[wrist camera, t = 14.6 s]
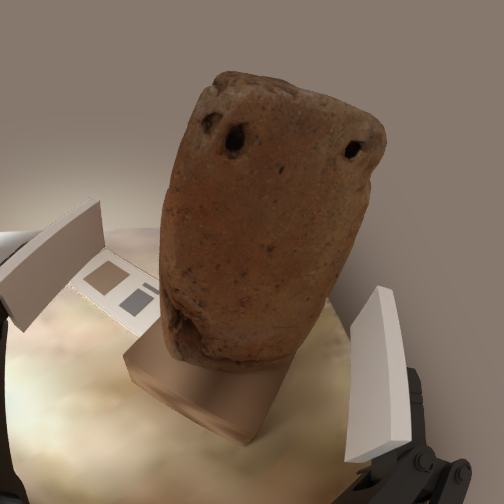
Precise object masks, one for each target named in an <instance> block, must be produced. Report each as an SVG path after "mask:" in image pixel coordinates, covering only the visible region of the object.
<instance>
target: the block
mask: <svg viewBox="0 0 504 504" xmlns="http://www.w3.org/2000/svg"><path fill="white" fill-rule="evenodd" d="M386 144H387V139H386V133H385V129H384V126H383V125H382V124H381V123H380V121H379V120H378V119H376V118H375V117H374V116H373V115H371V114H370V113H368V112H365V111H362V110H360V109H358V108H356V107H354V106H351V105H349V104H347V103H345V102H342V101H340V100H338V99H336V98H333V97H331V96H328V95H324V94H320V93H316V92H313V91H309V90H304V89H301V88H298V87H295V86H294V85H292V84H290V83H288V82H287V81H284V80H281V79H276V78H270V77H265V76H256V75H252V74H248V73H241V72H236V71H226V72H223V73H221V74H219V75H218V76H217V77H216V78H215V79H214V82H213V84H212V86H209V87H207V88H205V89H204V90H203V92H202V93H201V95H200V97H199V99H198V102H197V104H196V106H195V108H194V110H193V113H192V115H191V117H190V120H189V122H188V126H187V129H186V131H185V134H184V137H183V138H182V141H181V143H180V146H179V149H178V153H177V156H176V159H175V163H174V167H173V170H172V174H171V179H170V185H169V189H168V190H167V193H166V196H165V200H164V203H163V209H162V217H161V227H160V253H159V298H160V317H161V326H162V332H163V337H164V341H165V345H166V348H167V350H168V352H169V354H170V356H171V357H172V358H174V359H176V360H178V361H184V362H187V363H189V364H192V365H196V366H199V367H202V368H205V369H209V370H217V371H230V372H250V371H259V370H264V369H267V368H274V367H277V366H279V365H282V364H284V363H285V362H287V361H288V360H289V359H290V357H291V356H292V355H293V354H294V353H295V352H296V350H297V349H298V348H299V347H300V345H301V344H302V343H303V341H304V340H305V338H306V337H307V335H308V334H309V332H310V331H311V329H312V328H313V326H314V324H315V323H316V321H317V319H318V317H319V316H320V313H321V311H322V309H323V307H324V304H325V298H326V297H327V296H328V295H329V293H330V292H331V290H332V288H333V286H334V284H335V283H336V281H337V279H338V277H339V275H340V272H341V270H342V268H343V266H344V264H345V262H346V260H347V258H348V256H349V254H350V251H351V249H352V247H353V244H354V241H355V237H356V235H357V232H358V231H359V228H360V225H361V223H362V220H363V218H364V214H365V212H366V209H367V207H368V203H369V198H370V191H371V183H370V177H371V174H372V172H373V170H374V169H375V168H376V166H377V165H378V164H379V162H380V160H381V158H382V157H383V155H384V152H385V148H386Z"/></svg>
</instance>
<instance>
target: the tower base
mask: <svg viewBox="0 0 504 504" xmlns="http://www.w3.org/2000/svg"><path fill="white" fill-rule="evenodd" d="M295 353H296V352H295ZM295 353H294V354H293V355H292V356H291V357H290V359H289V360H288V361H287V362H285V363H284V364H282V365H279V366H277V367H274V368H267V369H264V370H259V371H250V372H230V371H217V370H209V369H205V368H202V367H199V366H196V365H192V364H189V363H187V362H184V361H178V360H176V359H174V358H172V357H171V356H170V354H169V352H168V350H167V348H166V345H165V341H164V337H163V332H162V326H161V317H159V318H158V319H157V320H156V321H155V322H154V323H153V324H152V325H151V326H150V327H149V329H148V330H147V331H146V332H145V333H144V334H143V335H142V336H141V337H140V338H139V339H138V340H137V341H136V342H135V343H134V344H133V345H132V346H131V347H130V348H129V349H128V350H127V351H126V352H125V353H124V354H123V358H124V361H125V364H126V366H127V369H128V372H129V375H130V377H131V380H132V381H133V382H134V383H135V384H137V385H138V386H139V387H141V388H142V389H144V390H145V391H147V392H148V393H149V394H151V395H152V396H154V397H155V398H157V399H158V400H160V401H161V402H163V403H164V404H166V405H168V406H169V407H171V408H172V409H174V410H175V411H177V412H179V413H180V414H182V415H184V416H185V417H187V418H189V419H190V420H192V421H194V422H196V423H197V424H199V425H201V426H203V427H205V428H207V429H208V430H210V431H212V432H214V433H216V434H218V435H220V436H222V437H224V438H226V439H228V440H230V441H232V442H234V443H236V444H238V445H240V446H243V447H245V446H246V445H247V444H248V443H249V442H250V441H251V440H252V439H253V437H254V436H255V435H256V434H257V432H258V430H259V428H260V426H261V424H262V422H263V421H264V419H265V417H266V415H267V413H268V411H269V409H270V407H271V405H272V402H273V400H274V398H275V396H276V394H277V392H278V390H279V388H280V386H281V384H282V381H283V379H284V377H285V375H286V373H287V371H288V368H289V366H290V364H291V362H292V359H293V357H294V355H295Z"/></svg>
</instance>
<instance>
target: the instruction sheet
mask: <svg viewBox="0 0 504 504" xmlns="http://www.w3.org/2000/svg"><path fill="white" fill-rule="evenodd" d="M69 283H70V284H71V285H72V286H73V287H74V288H76V289H77V290H78V291H79V292H80V293H81V294H83V295H84V296H85V297H86V298H87V299H89V300H90V301H91V302H92V303H93V304H95V305H96V306H97V307H98V308H100V309H101V310H102V311H103V312H105V313H106V314H107V315H109V316H110V317H111V318H112V319H114V320H115V321H116V322H118V323H119V324H120V325H122V326H123V327H125V328H126V329H127V330H129V331H130V332H131V333H133V334H134V335H136V336H137V337H139V338H140V337H141V336H142V335H143V334H144V333H145V332H146V331H147V330H148V329H149V327H150V326H151V325H152V324H153V323H154V322H155V321H156V320H157V319H158V318H159V317H160V298H159V280H157V279H155V278H154V277H152V276H150V275H149V274H147V273H145V272H143V271H142V270H140V269H138V268H137V267H135V266H134V265H132V264H130V263H129V262H127V261H125V260H124V259H122V258H121V257H119V256H117V255H116V254H114V253H113V252H111V251H109V250H108V249H105V250H103V251H102V252H100V253H99V254H97V255H96V256H94V257H93V258H92V259H91V260H90V261H89V262H88V263H87V264H86V265H85V266H84V267H83V268H82V269H81V270H80V271H79V272H78V273H77V274H76V275H75V276H74V277H73V278H72V279H71V280H70V281H69Z"/></svg>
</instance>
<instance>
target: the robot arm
mask: <svg viewBox="0 0 504 504" xmlns="http://www.w3.org/2000/svg"><path fill="white" fill-rule="evenodd" d="M104 247H105V242H104V235H103V227H102V218H101V208H100V200H96V199H93V198H90V197H89V198H87V199H86V200H84V201H83V202H81V203H80V204H79V205H77V206H76V207H74V208H73V209H71V210H70V211H69V212H67V213H66V214H64V215H63V216H62V217H60V218H59V219H58V220H56V221H55V222H53V223H52V224H51V225H49V226H48V227H47V228H46V229H44V230H43V231H42V232H40V233H39V234H38V235H37V236H35V237H34V238H33V239H32V240H30V241H28V242H26V243H24V244H23V245H21V246H20V247H19V248H18V249H17V250H15V252H13V253H12V254H11V255H10V256H9V258H6V259H5V260H4V261H3V262H2V263H1V264H0V504H29V501H28V497H27V494H26V490H25V488H24V485H23V483H22V481H21V480H20V479H19V477H18V476H17V475H16V473H15V472H14V469H13V465H12V459H11V454H10V448H9V441H8V433H7V424H6V412H5V354H6V341H7V332H8V321H7V318H8V316H9V317H10V318H11V320H12V322H13V323H14V325H15V326H16V327H17V328H19V329H20V330H21V331H22V332H23V333H24V332H25V331H26V329H27V328H28V327H29V326H30V325H31V323H32V322H33V321H34V320H35V319H36V318H37V316H38V315H39V314H40V313H41V312H42V311H43V309H44V308H45V307H46V306H47V305H48V304H49V303H50V302H51V301H52V299H53V298H54V297H55V296H56V295H57V294H58V293H59V292H60V291H61V290H62V289H63V288H64V287H65V285H66V284H67V283H68V282H69V281H70V280H71V279H72V278H73V277H74V276H75V275H76V274H77V273H78V272H79V271H80V270H81V269H82V268H83V267H84V266H85V265H86V264H87V263H88V262H89V261H90V260H91V259H92V258H93V257H94V256H95V255H96V254H97V253H99V252H100V251H101V250H102V249H103V248H104ZM350 332H351V369H350V399H349V416H348V429H347V441H346V450H345V459H344V462H353V463H364V462H366V461H369V460H371V459H372V465H371V466H369V467H367V468H364V469H361V470H359V471H358V472H356V474H357V475H358V474H361V473H363V474H362V475H361V476H360V477H359V478H358V479H357V480H356V481H355V482H354V483H353V484H352V485H351V486H350V487H349V488H348V489H347V490H345V491H344V492H343V493H342V494H341V495H340V496H339V497H338V498H337V499H336V500H335V501H333V502H332V503H331V504H427V502H428V501H429V500H430V501H429V503H428V504H463V501H464V498H465V495H466V492H467V489H468V487H469V484H470V480H471V475H472V470H471V466H470V463H469V462H468V461H467V460H466V459H459V460H457V461H454V462H452V463H450V462H447V461H443V460H441V459H439V458H436V456H435V453H434V451H433V450H432V448H431V447H429V446H427V445H426V439H425V421H424V409H423V405H422V404H423V398H422V395H421V394H422V390H421V382H420V379H419V377H418V374H417V372H416V370H415V369H413V368H408V367H406V362H405V355H404V348H403V342H402V336H401V330H400V325H399V320H398V315H397V310H396V305H395V300H394V295H393V291H392V290H391V289H388V288H385V287H381V286H379V285H377V287H376V288H375V290H374V291H373V293H372V295H371V296H370V298H369V299H368V301H367V303H366V304H365V306H364V307H363V309H362V310H361V312H360V313H359V315H358V316H357V318H356V319H355V321H354V322H353V323H352V325H351V327H350Z"/></svg>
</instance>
